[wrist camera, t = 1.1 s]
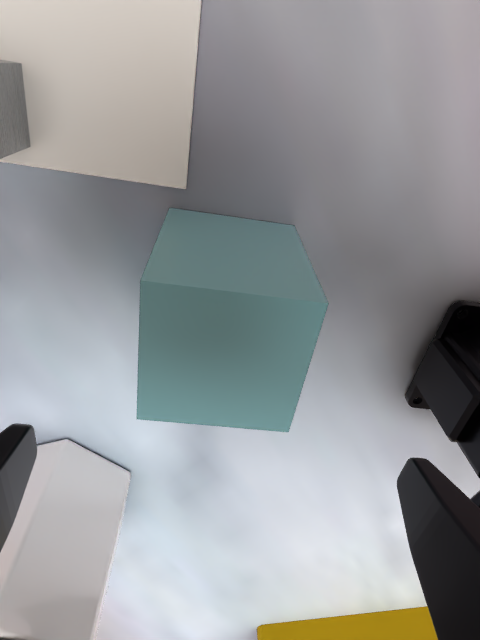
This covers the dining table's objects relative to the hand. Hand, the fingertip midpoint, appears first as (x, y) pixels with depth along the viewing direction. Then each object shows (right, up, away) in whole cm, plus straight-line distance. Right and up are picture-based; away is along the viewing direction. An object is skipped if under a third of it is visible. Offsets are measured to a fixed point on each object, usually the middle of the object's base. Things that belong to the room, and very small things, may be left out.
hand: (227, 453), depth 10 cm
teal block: (0, +5, +8) cm, 10 cm away
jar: (-11, -7, +16) cm, 20 cm away
